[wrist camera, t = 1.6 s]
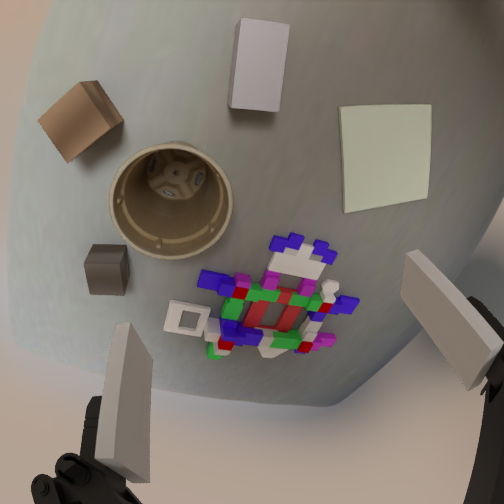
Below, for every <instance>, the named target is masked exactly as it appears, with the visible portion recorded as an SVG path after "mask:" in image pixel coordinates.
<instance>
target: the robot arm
mask: <svg viewBox="0 0 504 504" xmlns="http://www.w3.org/2000/svg"><path fill="white" fill-rule="evenodd" d="M400 297H401V298H402V300H403V301H404V302H405V303H406V305H407V306H408V307H409V309H410V310H411V311H412V313H413V314H414V315H415V317H416V318H417V319H418V321H419V322H420V323H421V325H422V326H423V327H424V329H425V330H426V332H427V333H428V334H429V336H430V337H431V338H432V340H433V341H434V343H435V344H436V345H437V347H438V348H439V350H440V351H441V353H442V354H443V355H444V357H445V358H446V360H447V361H448V363H449V364H450V365H451V367H452V368H453V370H454V372H455V373H456V375H457V376H458V378H459V379H460V380H461V382H462V384H463V385H464V386H465V388H466V390H467V391H469V390H471V389H473V388H474V387H476V386H478V385H479V384H480V383H481V382H482V380H483V379H484V377H485V376H486V377H487V379H488V382H487V383H486V385H485V386H484V388H483V389H482V391H481V394H480V395H483V393H484V392H485V390H486V394H485V403H484V412H483V419H482V426H481V432H480V437H479V443H478V448H477V453H476V458H475V462H474V466H473V470H472V475H471V479H470V482H469V486H468V489H467V493H466V497H465V500H464V503H463V504H504V327H503V326H502V325H501V324H500V322H499V321H498V320H497V319H496V318H495V317H493V315H492V313H491V312H490V311H488V309H487V308H486V307H485V306H484V305H483V303H482V302H480V301H479V300H477V299H475V298H474V297H472V296H471V297H468V298H465V297H464V296H463V295H462V293H461V292H460V291H459V290H458V289H457V288H456V287H455V286H454V285H453V284H452V283H451V282H450V281H449V280H448V279H447V278H446V277H445V276H444V275H443V274H442V273H441V271H440V270H439V269H438V268H437V267H436V266H435V265H434V264H433V263H432V262H431V261H430V260H429V259H428V258H427V257H426V256H424V255H423V254H422V253H421V252H420V251H419V250H414V251H411V252H408V253H406V256H405V264H404V272H403V279H402V286H401V293H400ZM152 366H153V359H152V357H151V356H150V354H149V353H148V351H147V349H146V348H145V346H144V344H143V343H142V341H141V339H140V338H139V336H138V334H137V333H136V331H135V329H134V327H133V326H132V324H131V322H126V323H121V324H116V326H115V330H114V335H113V340H112V344H111V349H110V354H109V360H108V365H107V370H106V376H105V382H104V388H103V394H102V396H94V397H92V398H91V400H90V402H89V404H88V406H87V409H86V415H85V419H86V420H85V421H84V429H83V435H82V443H81V450H80V456H78V455H77V454H74V453H66V454H64V455H62V456H61V457H60V458H59V459H58V460H57V463H56V465H55V473H56V476H57V477H56V478H51V477H50V476H48V475H45V474H40V475H38V476H36V477H35V478H34V480H33V481H32V485H31V492H32V496H33V499H34V503H35V504H142V503H141V502H140V501H139V499H138V498H137V497H136V496H135V495H134V494H133V493H132V492H131V490H130V489H129V488H128V487H126V479H127V480H128V481H130V482H132V483H150V405H151V383H152Z"/></svg>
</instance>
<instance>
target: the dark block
mask: <svg viewBox="0 0 504 504" xmlns="http://www.w3.org/2000/svg"><path fill="white" fill-rule="evenodd" d="M84 268H85V273H86V278H87V283H88V287H89V292H90V294H92V295H120V296H124V294H125V290H126V286H127V282H128V278H129V275H130V274H129V266H128V257H127V247H126V245H106V244H93V246H92V248H91V250H90V252H89V254H88V256H87V258H86V260H85V262H84Z"/></svg>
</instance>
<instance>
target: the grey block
mask: <svg viewBox="0 0 504 504" xmlns="http://www.w3.org/2000/svg"><path fill="white" fill-rule="evenodd" d="M289 28H290V25H288V24H282V23H276V22H270V21H263V20H255V19H247V18H241V19H240V21H239V22H238V23H237V25H236V30H235V39H234V47H233V56H232V64H231V74H230V83H229V93H228V103H227V104H228V105H229V106H230V107H231V108H238V109H251V110H262V111H271V112H279V106H280V98H281V91H282V83H283V75H284V67H285V60H286V52H287V44H288V36H289Z"/></svg>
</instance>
